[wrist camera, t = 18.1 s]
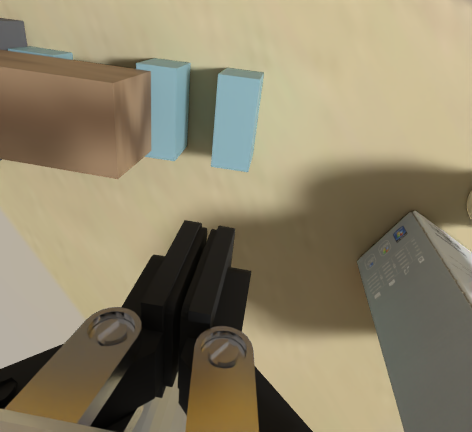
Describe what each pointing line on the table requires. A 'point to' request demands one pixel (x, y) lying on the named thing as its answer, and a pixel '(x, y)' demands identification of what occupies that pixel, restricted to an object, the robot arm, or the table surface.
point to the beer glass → (469, 205)
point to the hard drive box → (423, 322)
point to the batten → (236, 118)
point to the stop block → (12, 34)
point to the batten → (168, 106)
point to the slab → (73, 114)
